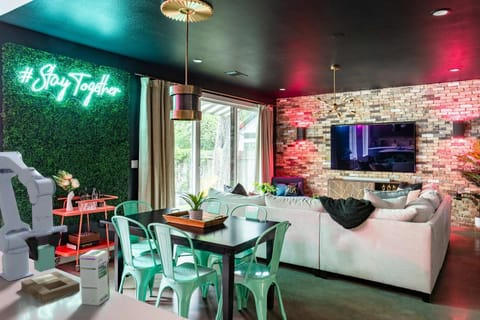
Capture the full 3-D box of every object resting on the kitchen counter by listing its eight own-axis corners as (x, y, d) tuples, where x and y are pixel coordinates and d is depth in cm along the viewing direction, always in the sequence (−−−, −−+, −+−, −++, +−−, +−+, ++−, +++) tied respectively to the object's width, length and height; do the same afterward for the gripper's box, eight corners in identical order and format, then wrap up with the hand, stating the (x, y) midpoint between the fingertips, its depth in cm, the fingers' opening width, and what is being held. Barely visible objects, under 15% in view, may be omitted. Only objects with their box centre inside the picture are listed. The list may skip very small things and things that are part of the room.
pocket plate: (21, 288, 114) (21, 280, 114) (56, 278, 122) (56, 270, 122) (42, 303, 104) (42, 294, 103) (79, 290, 112) (79, 282, 112)
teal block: (34, 268, 115) (33, 247, 114) (48, 265, 118) (48, 244, 118) (40, 272, 112) (39, 250, 111) (55, 268, 115) (54, 246, 115)
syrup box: (99, 306, 102) (97, 256, 101) (80, 304, 103) (79, 254, 102) (110, 297, 107) (108, 250, 107) (92, 295, 109) (91, 248, 108)
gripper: (22, 222, 106) (24, 266, 107) (71, 214, 117) (72, 254, 118) (13, 218, 110) (15, 261, 111) (61, 211, 122) (62, 250, 122)
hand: (44, 257), depth 115 cm, fingers closed on teal block, 4 cm apart
